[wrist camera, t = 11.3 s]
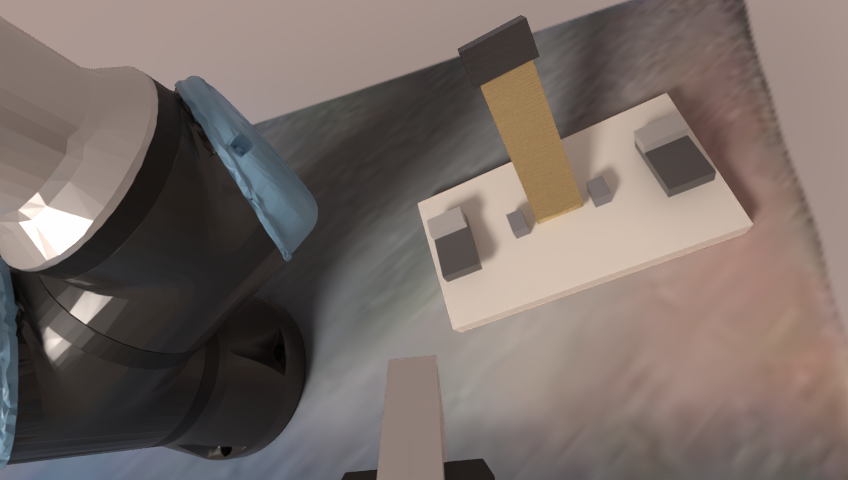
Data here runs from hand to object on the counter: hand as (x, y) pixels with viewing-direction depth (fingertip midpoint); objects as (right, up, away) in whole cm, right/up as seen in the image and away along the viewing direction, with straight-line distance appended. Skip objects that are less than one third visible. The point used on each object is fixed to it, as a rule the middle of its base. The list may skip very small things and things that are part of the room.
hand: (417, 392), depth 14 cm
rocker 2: (+18, +11, +17) cm, 27 cm away
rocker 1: (+3, +4, +21) cm, 22 cm away
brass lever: (+11, +7, +19) cm, 23 cm away
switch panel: (+12, +7, +22) cm, 26 cm away
